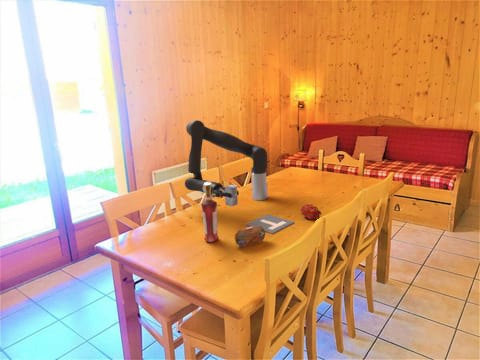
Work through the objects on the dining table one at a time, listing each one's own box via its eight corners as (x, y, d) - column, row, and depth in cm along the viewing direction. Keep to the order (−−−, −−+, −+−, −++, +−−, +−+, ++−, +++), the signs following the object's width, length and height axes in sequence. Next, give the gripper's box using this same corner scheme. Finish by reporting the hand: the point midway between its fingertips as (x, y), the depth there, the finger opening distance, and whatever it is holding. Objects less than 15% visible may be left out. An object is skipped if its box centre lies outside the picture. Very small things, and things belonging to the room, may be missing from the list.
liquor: (204, 237, 181) (201, 182, 173) (219, 237, 181) (216, 182, 173) (203, 244, 174) (198, 187, 166) (218, 243, 174) (215, 187, 166)
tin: (237, 249, 167) (236, 232, 165) (234, 246, 170) (233, 230, 168) (265, 241, 174) (265, 225, 172) (262, 239, 177) (261, 222, 174)
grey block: (231, 202, 197) (230, 184, 194) (237, 204, 194) (236, 186, 191) (225, 204, 194) (224, 186, 191) (231, 206, 190) (230, 188, 188)
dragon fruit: (299, 218, 204) (319, 225, 198) (295, 214, 197) (316, 221, 191) (305, 204, 206) (325, 210, 199) (301, 199, 198) (322, 206, 192)
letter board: (267, 215, 206) (267, 214, 206) (294, 223, 194) (294, 221, 194) (245, 225, 194) (245, 223, 194) (272, 234, 182) (272, 232, 181)
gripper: (202, 185, 196) (224, 191, 184) (221, 179, 205) (244, 184, 194) (203, 198, 198) (225, 205, 186) (222, 191, 207) (244, 197, 196)
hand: (234, 194), depth 190 cm, fingers closed on grey block, 4 cm apart
